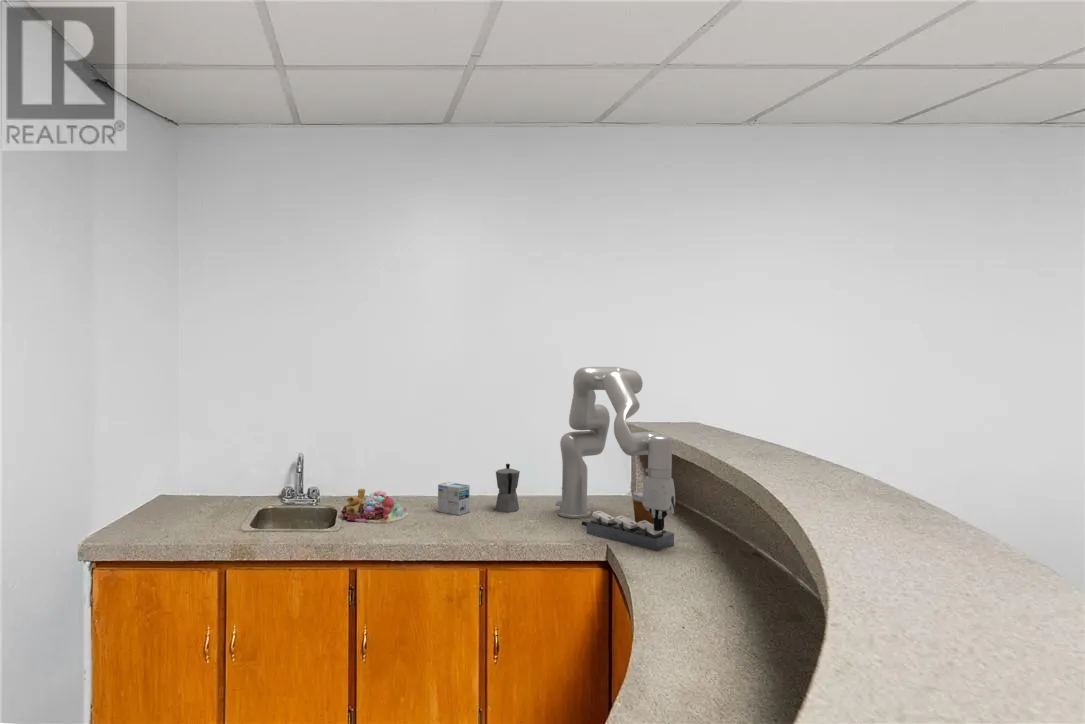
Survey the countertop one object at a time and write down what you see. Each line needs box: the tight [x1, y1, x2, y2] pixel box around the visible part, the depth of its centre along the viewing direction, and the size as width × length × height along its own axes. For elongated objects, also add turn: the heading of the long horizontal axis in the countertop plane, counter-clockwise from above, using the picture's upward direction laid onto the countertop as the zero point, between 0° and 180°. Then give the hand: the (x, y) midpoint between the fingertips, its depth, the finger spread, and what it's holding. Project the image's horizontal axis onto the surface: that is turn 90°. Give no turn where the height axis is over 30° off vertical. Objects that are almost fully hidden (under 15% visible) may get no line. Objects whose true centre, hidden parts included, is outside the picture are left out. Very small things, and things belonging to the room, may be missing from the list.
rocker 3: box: [637, 520, 662, 535], centre depth 246 cm, size 7×4×1 cm, turn 47°
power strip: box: [581, 518, 675, 552], centre depth 257 cm, size 35×10×6 cm, turn 47°
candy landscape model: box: [339, 488, 409, 525], centre depth 281 cm, size 25×24×9 cm
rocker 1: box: [591, 510, 615, 523], centre depth 259 cm, size 7×4×1 cm, turn 47°
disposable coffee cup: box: [631, 490, 654, 525], centre depth 271 cm, size 10×10×12 cm
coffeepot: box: [494, 463, 521, 513], centre depth 292 cm, size 15×9×18 cm, turn 9°
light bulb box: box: [437, 481, 471, 516], centre depth 288 cm, size 11×7×11 cm, turn 58°
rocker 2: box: [614, 515, 638, 529], centre depth 253 cm, size 7×4×1 cm, turn 47°
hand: (658, 529), depth 244 cm, fingers closed
